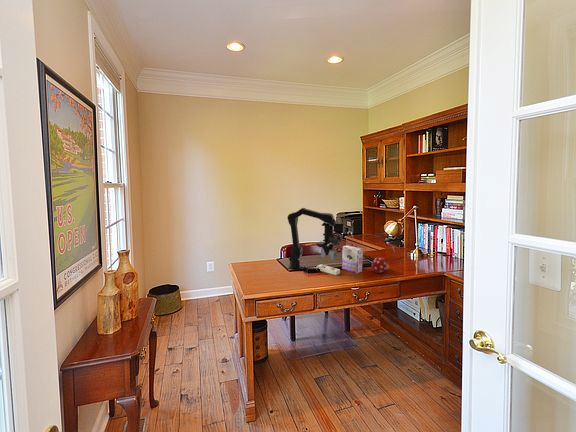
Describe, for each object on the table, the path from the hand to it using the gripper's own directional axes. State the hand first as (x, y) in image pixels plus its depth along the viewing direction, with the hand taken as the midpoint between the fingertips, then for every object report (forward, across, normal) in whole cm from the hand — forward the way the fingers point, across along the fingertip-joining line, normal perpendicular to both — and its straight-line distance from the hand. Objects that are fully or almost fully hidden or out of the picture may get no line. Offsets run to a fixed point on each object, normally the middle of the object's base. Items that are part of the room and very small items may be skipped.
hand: (328, 254), depth 219 cm
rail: (+12, 0, 0) cm, 12 cm away
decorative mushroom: (+13, +27, -26) cm, 40 cm away
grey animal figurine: (+2, 0, 0) cm, 2 cm away
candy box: (+12, +14, -10) cm, 21 cm away
